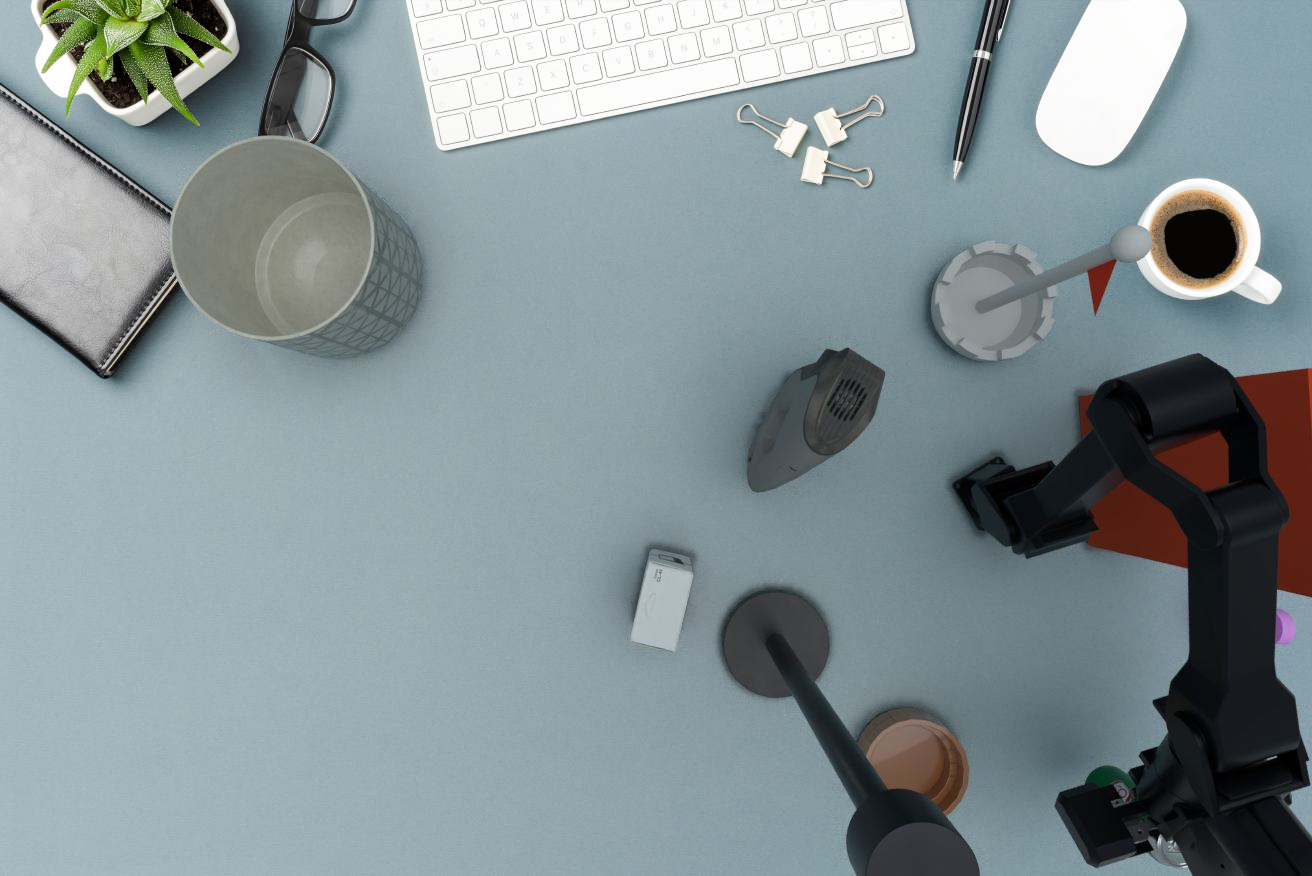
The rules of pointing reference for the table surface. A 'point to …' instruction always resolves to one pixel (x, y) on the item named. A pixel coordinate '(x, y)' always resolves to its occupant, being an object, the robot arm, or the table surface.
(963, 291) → the flag stand
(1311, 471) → the file binder
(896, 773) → the bowl
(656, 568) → the ink box
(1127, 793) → the soda can
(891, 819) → the desk lamp
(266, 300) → the planter
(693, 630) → the table surface
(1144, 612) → the table surface
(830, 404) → the handheld device
